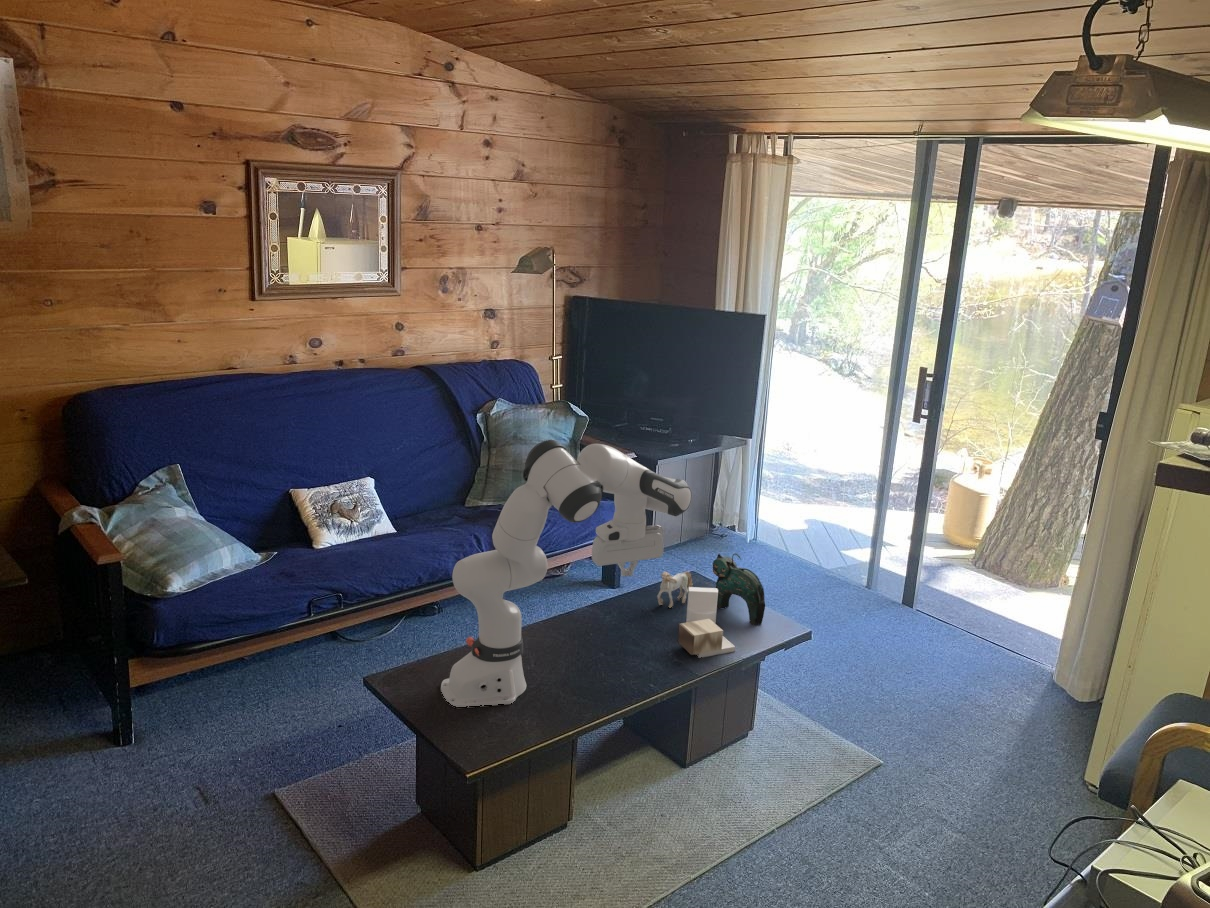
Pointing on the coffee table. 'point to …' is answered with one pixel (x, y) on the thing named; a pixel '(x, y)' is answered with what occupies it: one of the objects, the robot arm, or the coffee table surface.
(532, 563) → the robot arm
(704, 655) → the board
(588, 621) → the coffee table surface
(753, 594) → the ceramic cat
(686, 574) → the unicorn figurine
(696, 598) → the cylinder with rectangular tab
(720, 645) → the birch block
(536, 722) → the coffee table surface
